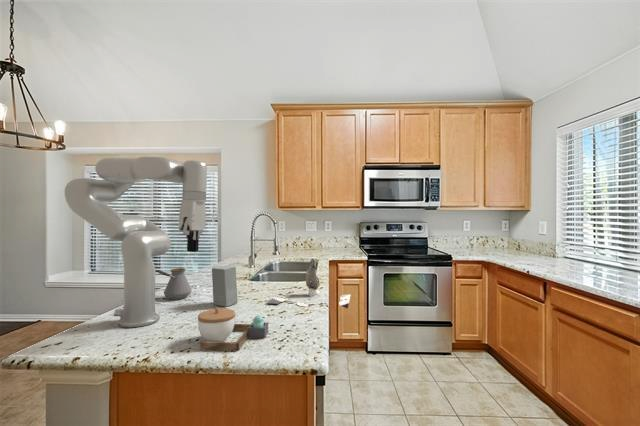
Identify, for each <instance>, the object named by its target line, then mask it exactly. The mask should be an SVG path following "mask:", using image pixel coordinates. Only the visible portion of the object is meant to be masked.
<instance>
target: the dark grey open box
mask: <svg viewBox="0 0 640 426" xmlns="http://www.w3.org/2000/svg"><path fill="white" fill-rule="evenodd" d="M250 324H251V325H250V326H249V327H248V338H247V339H265V338H266V337H267V335H268V333H269V322H268V321H267V322H266V321H265V322H264V327H253V321H252V322H251V323H250Z"/></svg>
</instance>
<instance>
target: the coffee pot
mask: <svg viewBox="0 0 640 426" xmlns="http://www.w3.org/2000/svg"><path fill="white" fill-rule="evenodd" d="M186 270H187V269H186V268H183V267H181V268H180V267H179V268H172V269H170V270H169V271H170V272H171V274H169V273H167V272H166V271H163V270H155V273H156V272H157V273H158V275H160V274H161V275H163V276H167V277H170V278H169V280H168V282H167V284H166V286H165V288H164V292H163V295H164V296H165V297H166V298H168V300H170V301H178V300H180V301H181V300H184V299H186V298H188V296H190V294H191V293H192V287H191V285H190V284H189V282H188V279H187V277H186V275H185V271H186Z"/></svg>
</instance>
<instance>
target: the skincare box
mask: <svg viewBox="0 0 640 426" xmlns="http://www.w3.org/2000/svg"><path fill="white" fill-rule="evenodd" d="M236 269H237V268H236V266H227V265H221V266H217V267H211V279H212V298H213V299H212V301H213V302H212V303H213V305H215V306H220V307H225V308H226V307H229V306H230V307H231V306H233V305H237V304H238V287H237V272H236V271H237V270H236Z"/></svg>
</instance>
